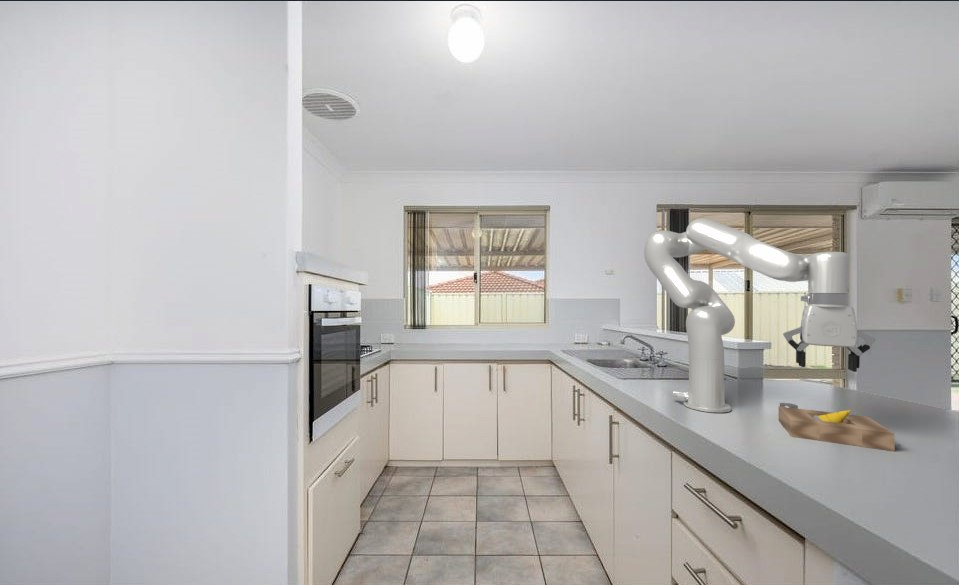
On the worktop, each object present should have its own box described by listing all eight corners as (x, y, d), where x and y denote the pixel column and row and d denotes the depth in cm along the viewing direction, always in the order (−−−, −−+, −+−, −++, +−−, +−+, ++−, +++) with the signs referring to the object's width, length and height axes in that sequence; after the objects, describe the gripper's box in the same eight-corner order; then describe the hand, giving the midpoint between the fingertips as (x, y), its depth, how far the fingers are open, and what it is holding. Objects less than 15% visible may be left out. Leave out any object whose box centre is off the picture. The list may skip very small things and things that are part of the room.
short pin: (781, 419, 105) (781, 405, 105) (778, 415, 108) (778, 402, 108) (799, 421, 103) (799, 407, 103) (796, 418, 106) (795, 404, 106)
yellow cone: (810, 430, 97) (848, 408, 94) (826, 446, 93) (866, 423, 89) (798, 419, 96) (835, 396, 93) (813, 434, 92) (853, 411, 88)
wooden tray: (791, 436, 91) (790, 420, 91) (778, 420, 104) (778, 406, 104) (894, 451, 83) (894, 433, 83) (867, 432, 95) (867, 416, 95)
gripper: (787, 300, 95) (786, 367, 95) (882, 302, 87) (881, 375, 86) (781, 300, 101) (779, 362, 101) (868, 301, 93) (867, 370, 93)
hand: (826, 368), depth 94 cm, fingers open, 9 cm apart
